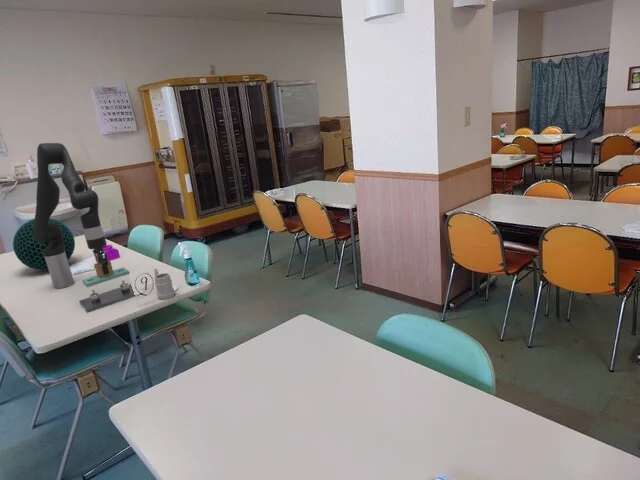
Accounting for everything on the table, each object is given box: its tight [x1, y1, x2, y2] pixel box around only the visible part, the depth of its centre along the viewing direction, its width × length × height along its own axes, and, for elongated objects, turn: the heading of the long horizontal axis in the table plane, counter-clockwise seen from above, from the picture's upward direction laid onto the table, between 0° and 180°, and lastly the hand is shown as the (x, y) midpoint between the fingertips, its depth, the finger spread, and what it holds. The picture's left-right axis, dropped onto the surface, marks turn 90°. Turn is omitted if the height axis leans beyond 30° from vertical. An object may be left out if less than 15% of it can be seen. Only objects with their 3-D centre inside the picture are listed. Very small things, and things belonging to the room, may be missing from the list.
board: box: [81, 260, 131, 288], centre depth 201 cm, size 18×8×8 cm, turn 130°
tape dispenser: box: [102, 244, 121, 262], centre depth 268 cm, size 16×10×6 cm, turn 46°
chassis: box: [78, 279, 136, 313], centre depth 204 cm, size 14×24×6 cm, turn 129°
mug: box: [153, 267, 176, 300], centre depth 200 cm, size 8×12×12 cm, turn 43°
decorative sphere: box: [12, 217, 76, 271], centre depth 256 cm, size 30×30×30 cm
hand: (105, 272), depth 201 cm, fingers closed on board, 4 cm apart
